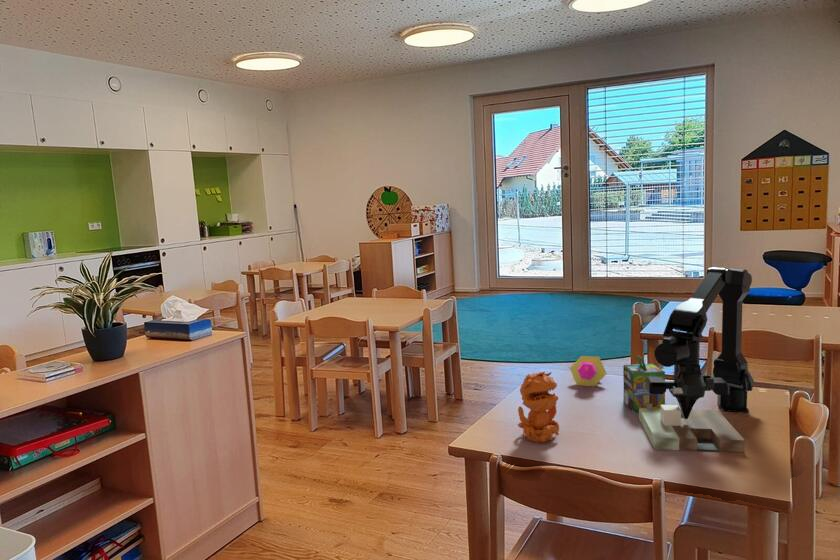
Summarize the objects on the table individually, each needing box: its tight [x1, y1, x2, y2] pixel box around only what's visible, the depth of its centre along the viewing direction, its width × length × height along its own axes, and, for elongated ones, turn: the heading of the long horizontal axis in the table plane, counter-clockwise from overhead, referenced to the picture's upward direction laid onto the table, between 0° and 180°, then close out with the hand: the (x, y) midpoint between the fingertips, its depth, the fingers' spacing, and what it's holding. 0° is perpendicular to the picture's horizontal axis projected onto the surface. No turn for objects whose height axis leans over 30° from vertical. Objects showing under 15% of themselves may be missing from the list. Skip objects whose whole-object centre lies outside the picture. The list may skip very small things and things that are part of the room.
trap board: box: [638, 408, 746, 453], centre depth 153 cm, size 20×20×3 cm
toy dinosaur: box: [517, 371, 560, 443], centre depth 153 cm, size 11×11×18 cm
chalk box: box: [622, 354, 666, 413], centre depth 173 cm, size 9×9×15 cm
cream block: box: [660, 404, 681, 426], centre depth 153 cm, size 4×4×4 cm
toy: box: [569, 355, 607, 387], centre depth 195 cm, size 10×18×10 cm, turn 161°
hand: (685, 418), depth 152 cm, fingers closed
